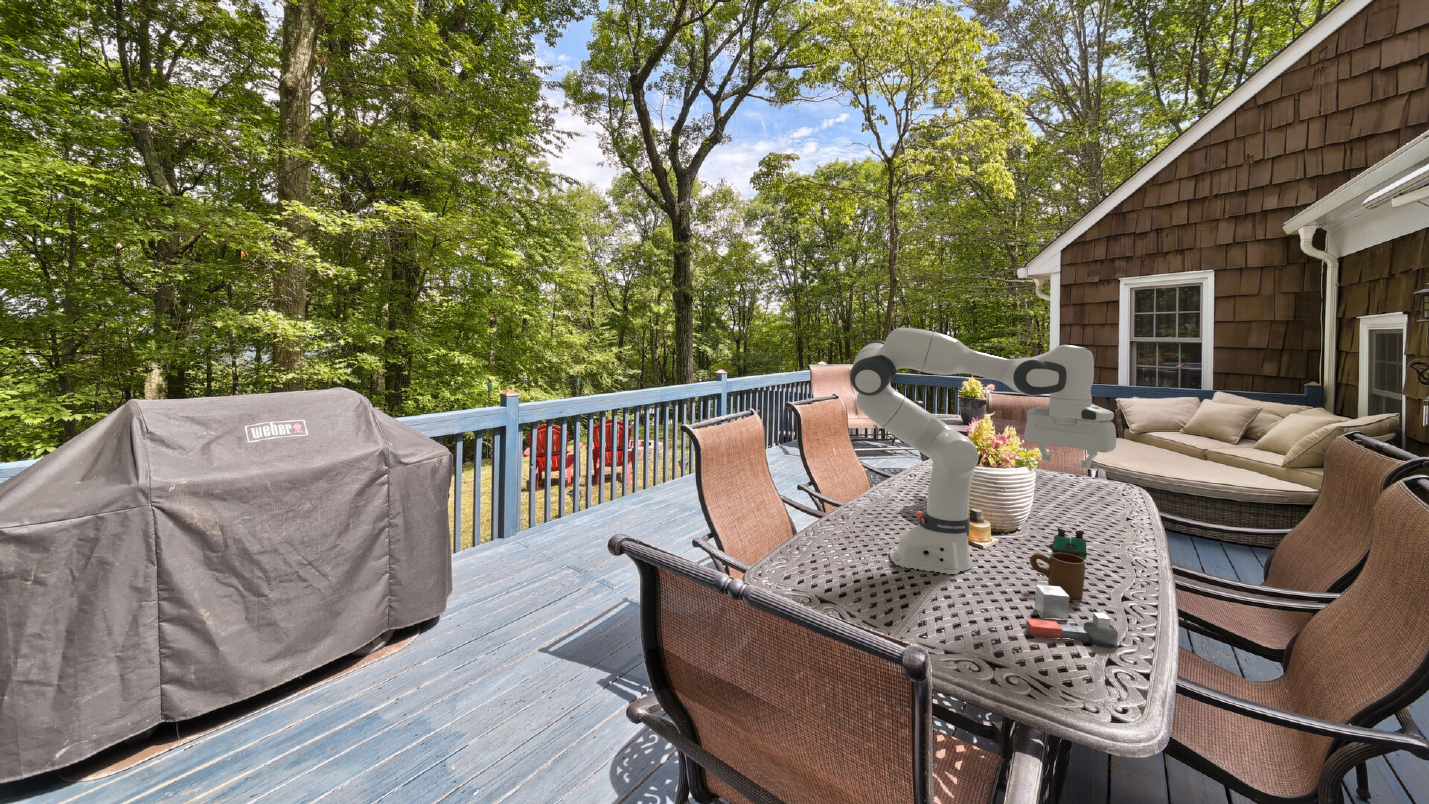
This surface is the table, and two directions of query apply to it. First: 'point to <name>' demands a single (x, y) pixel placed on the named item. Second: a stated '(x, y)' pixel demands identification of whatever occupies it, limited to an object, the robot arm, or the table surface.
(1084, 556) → the binoculars
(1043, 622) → the ratchet
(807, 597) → the table surface
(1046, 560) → the mug
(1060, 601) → the silver metal block
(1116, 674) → the table surface
